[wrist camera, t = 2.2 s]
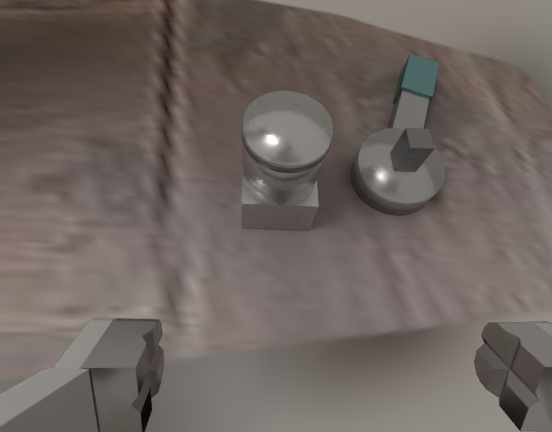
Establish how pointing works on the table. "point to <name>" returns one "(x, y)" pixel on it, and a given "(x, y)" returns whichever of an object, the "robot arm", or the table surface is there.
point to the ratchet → (402, 148)
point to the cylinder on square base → (283, 160)
